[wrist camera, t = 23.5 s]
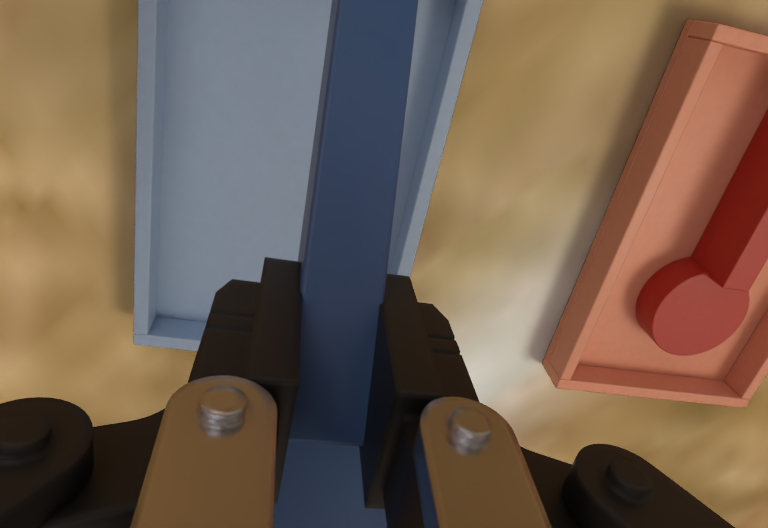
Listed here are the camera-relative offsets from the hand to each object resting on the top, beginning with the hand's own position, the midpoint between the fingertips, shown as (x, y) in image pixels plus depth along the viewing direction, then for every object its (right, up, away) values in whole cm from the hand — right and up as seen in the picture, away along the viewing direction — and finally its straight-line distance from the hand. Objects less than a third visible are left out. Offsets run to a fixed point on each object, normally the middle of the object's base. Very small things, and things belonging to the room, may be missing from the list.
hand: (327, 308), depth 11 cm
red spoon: (+17, +2, +16) cm, 23 cm away
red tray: (+17, +2, +16) cm, 23 cm away
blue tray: (-3, +5, +12) cm, 14 cm away
